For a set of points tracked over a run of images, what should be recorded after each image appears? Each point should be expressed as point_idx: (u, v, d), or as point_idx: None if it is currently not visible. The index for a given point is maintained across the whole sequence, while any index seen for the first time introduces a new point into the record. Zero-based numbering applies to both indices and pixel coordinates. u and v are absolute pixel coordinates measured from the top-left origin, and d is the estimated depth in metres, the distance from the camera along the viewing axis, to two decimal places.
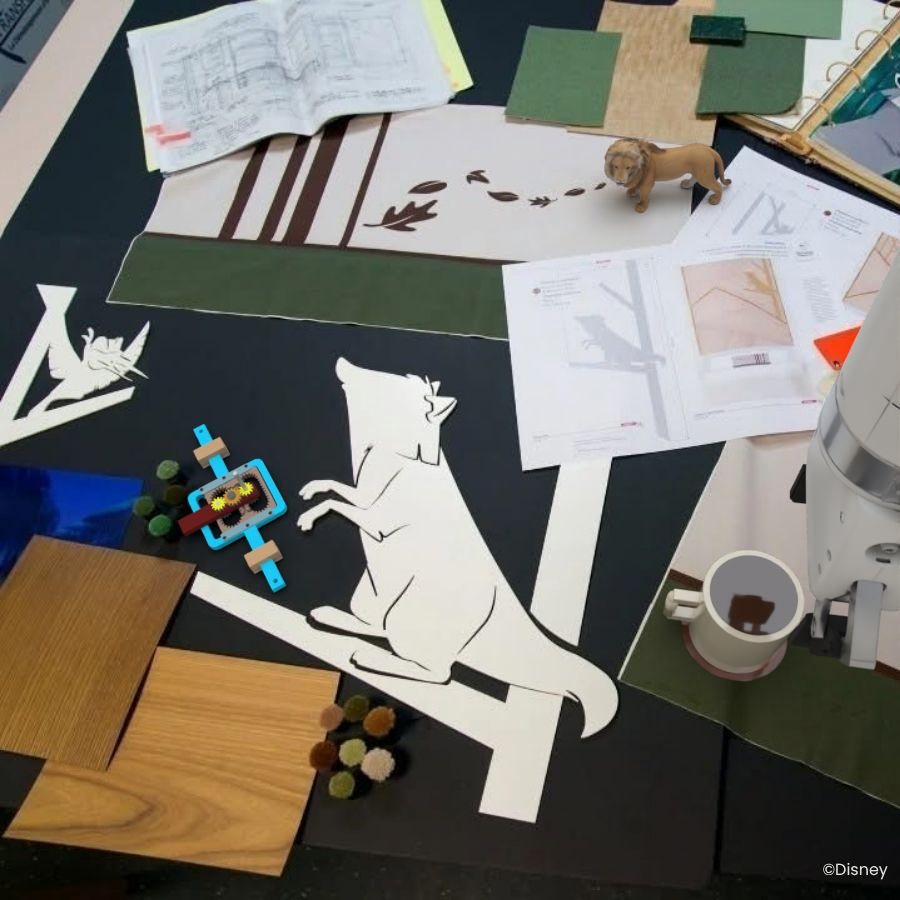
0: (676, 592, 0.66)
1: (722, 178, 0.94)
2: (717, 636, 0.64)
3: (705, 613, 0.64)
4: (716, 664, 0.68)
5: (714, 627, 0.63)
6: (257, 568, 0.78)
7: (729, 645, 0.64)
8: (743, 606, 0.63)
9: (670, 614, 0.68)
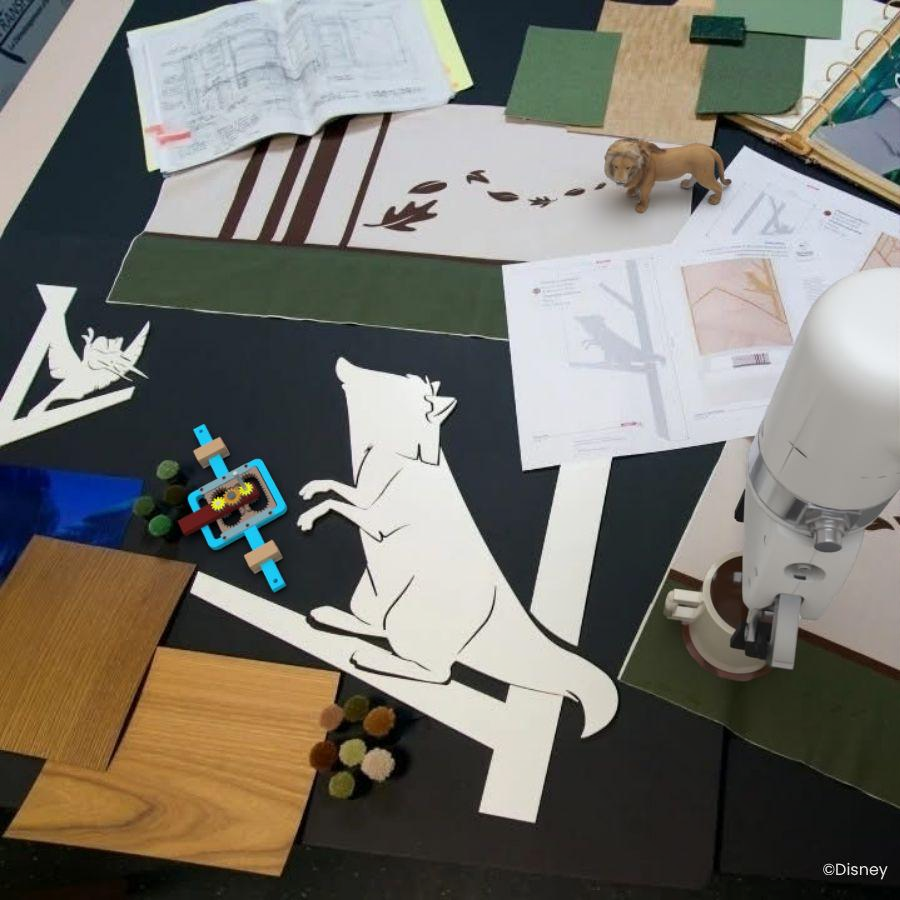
0: (676, 592, 0.66)
1: (722, 178, 0.94)
2: (717, 636, 0.64)
3: (705, 613, 0.64)
4: (716, 664, 0.68)
5: (714, 627, 0.63)
6: (257, 568, 0.78)
7: (729, 645, 0.64)
8: (743, 606, 0.63)
9: (670, 614, 0.68)
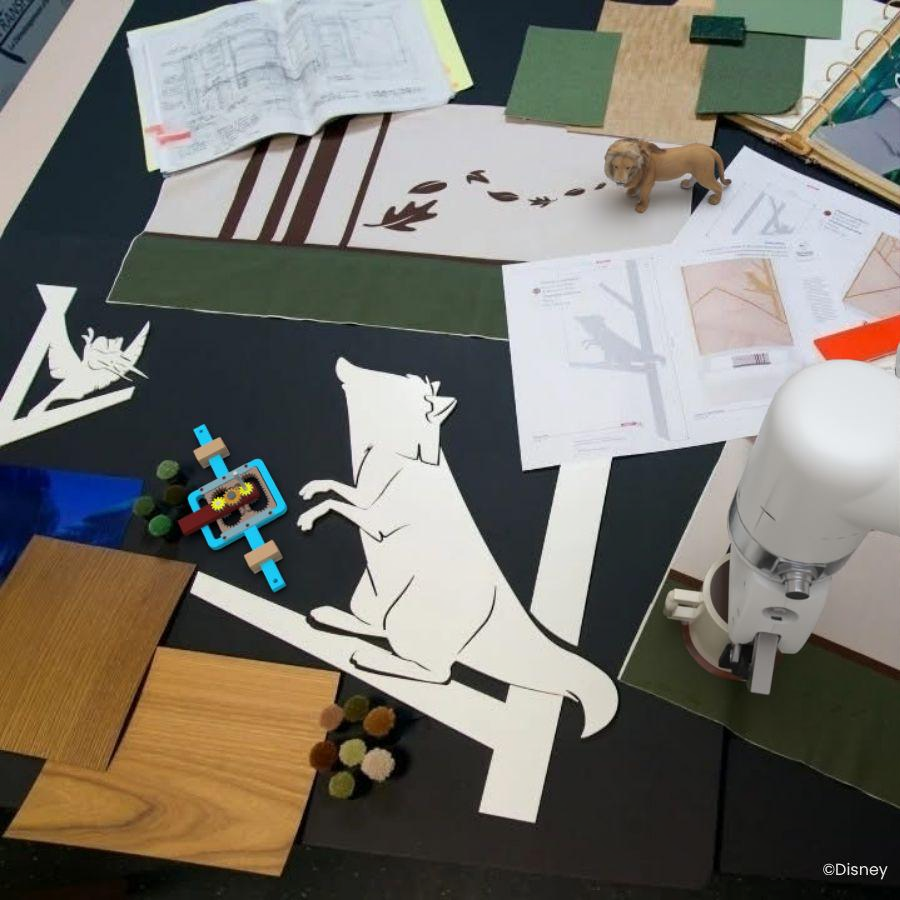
0: (676, 592, 0.66)
1: (722, 178, 0.94)
2: (717, 636, 0.64)
3: (705, 613, 0.64)
4: (716, 664, 0.68)
5: (714, 627, 0.63)
6: (257, 568, 0.78)
7: None
8: None
9: (670, 614, 0.68)
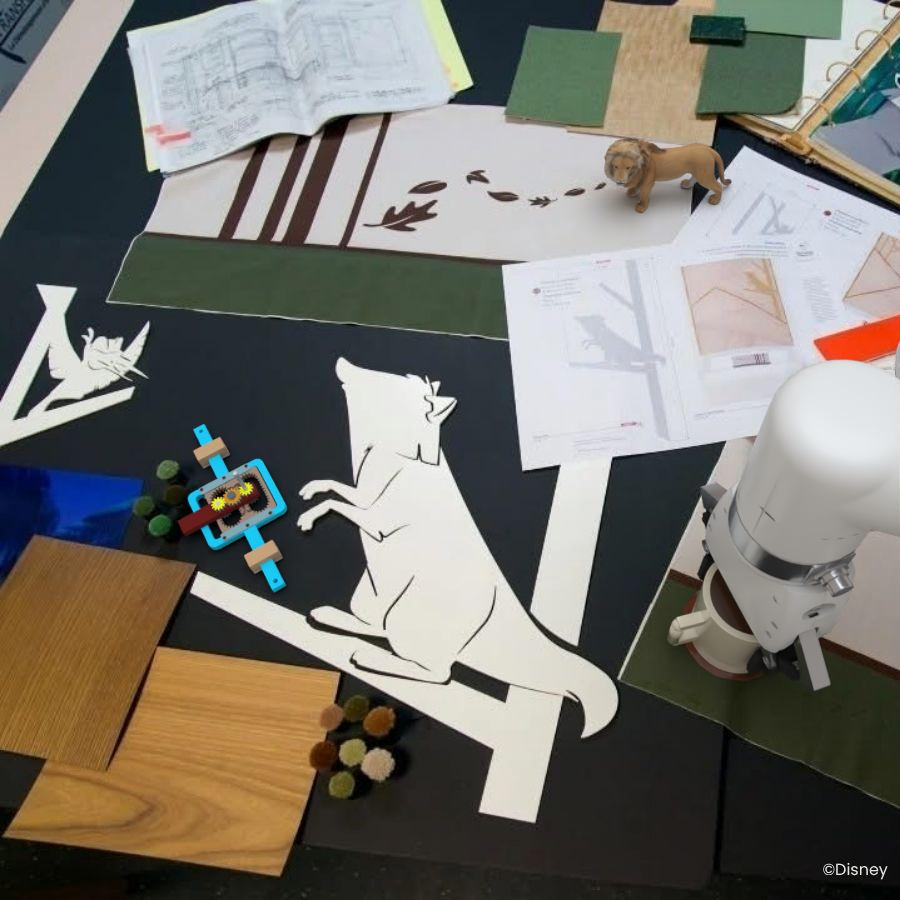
0: (680, 620, 0.65)
1: (722, 178, 0.94)
2: (736, 647, 0.63)
3: (717, 630, 0.63)
4: (735, 670, 0.68)
5: (732, 640, 0.63)
6: (257, 568, 0.78)
7: (750, 651, 0.63)
8: None
9: (677, 641, 0.67)
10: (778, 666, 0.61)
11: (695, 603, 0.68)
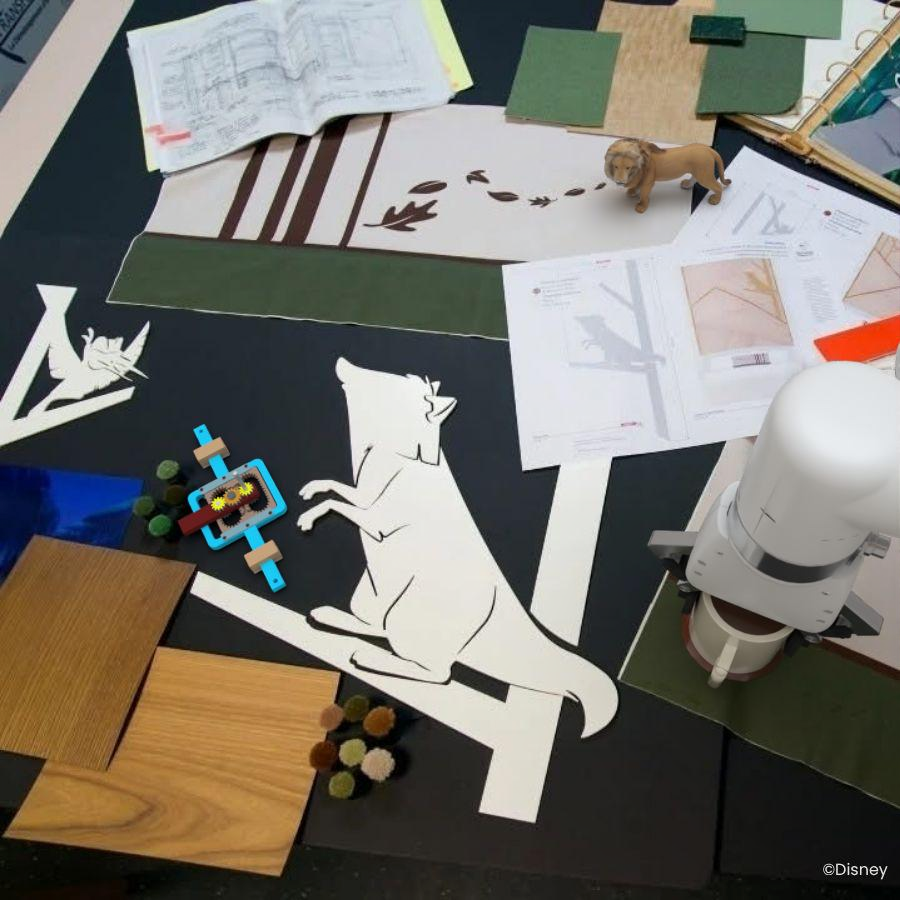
0: (721, 664, 0.63)
1: (722, 178, 0.94)
2: (777, 645, 0.63)
3: (757, 646, 0.62)
4: (770, 660, 0.68)
5: (774, 644, 0.62)
6: (257, 568, 0.78)
7: (787, 638, 0.63)
8: None
9: None
10: (823, 635, 0.61)
11: (706, 639, 0.66)
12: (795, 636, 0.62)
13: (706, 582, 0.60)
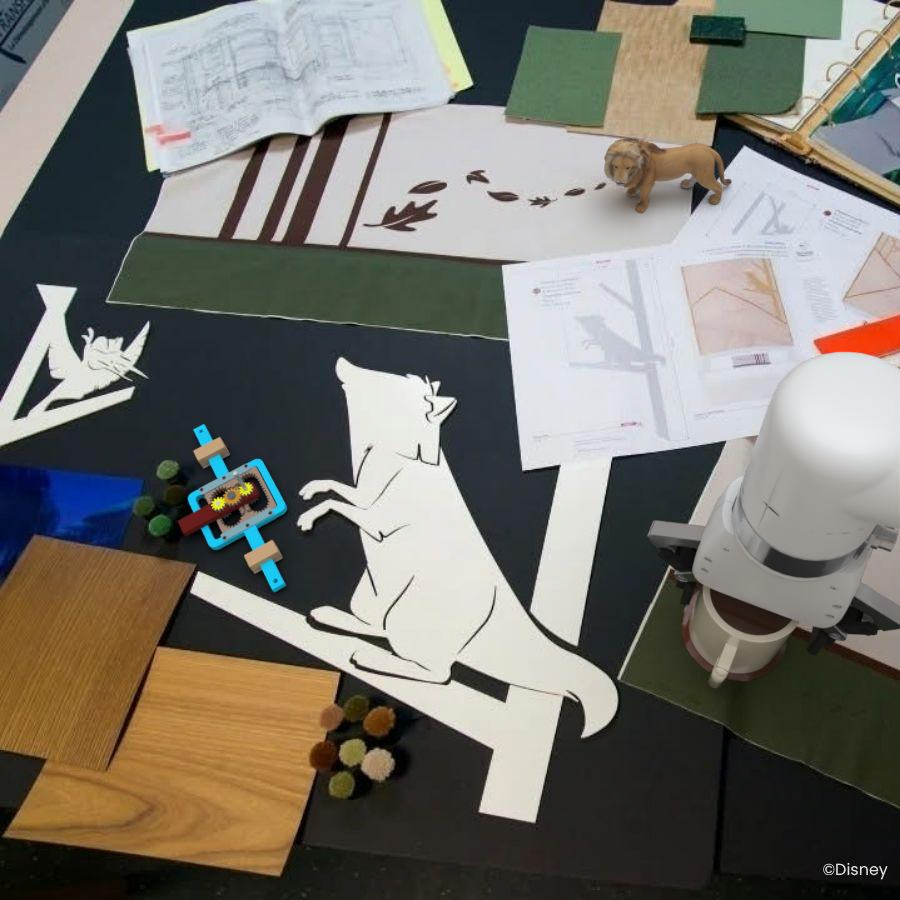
0: (722, 665, 0.63)
1: (722, 178, 0.94)
2: (777, 645, 0.63)
3: (757, 646, 0.62)
4: (770, 660, 0.68)
5: (774, 643, 0.62)
6: (257, 568, 0.78)
7: (787, 638, 0.63)
8: None
9: None
10: (848, 632, 0.60)
11: (706, 639, 0.66)
12: (819, 634, 0.61)
13: (713, 579, 0.59)
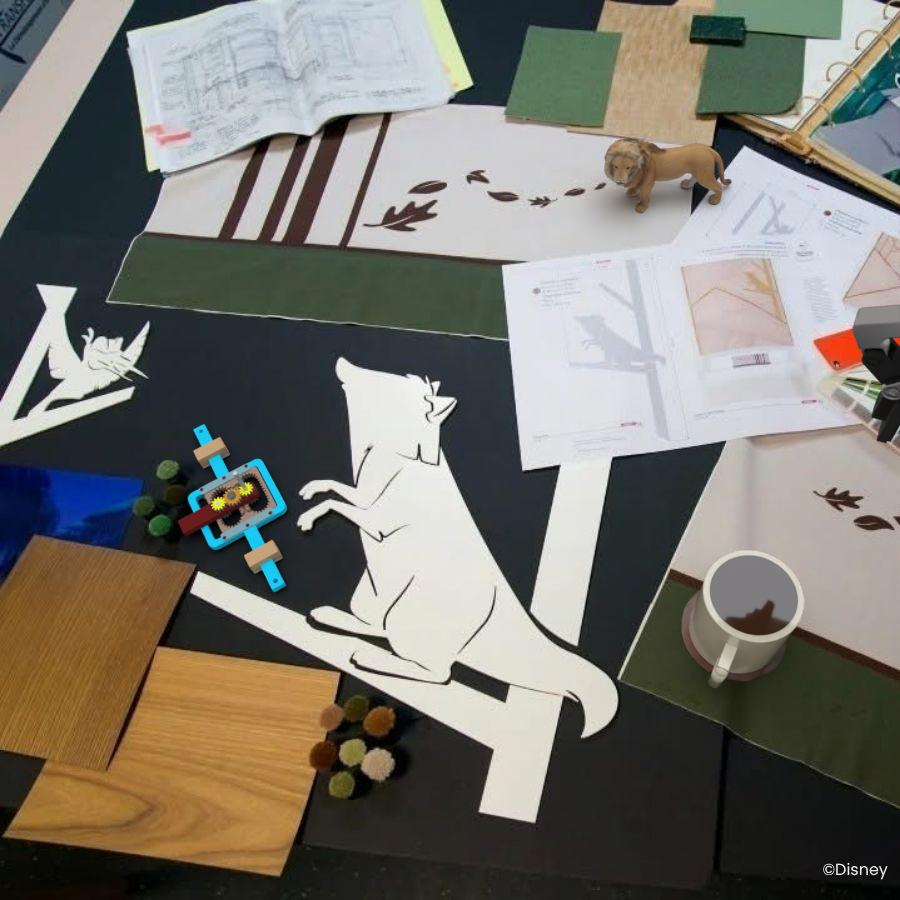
0: (722, 665, 0.63)
1: (722, 178, 0.94)
2: (777, 645, 0.63)
3: (757, 646, 0.62)
4: (770, 660, 0.68)
5: (774, 643, 0.62)
6: (257, 568, 0.78)
7: (787, 638, 0.63)
8: (763, 608, 0.63)
9: None
10: None
11: (706, 639, 0.66)
12: None
13: None
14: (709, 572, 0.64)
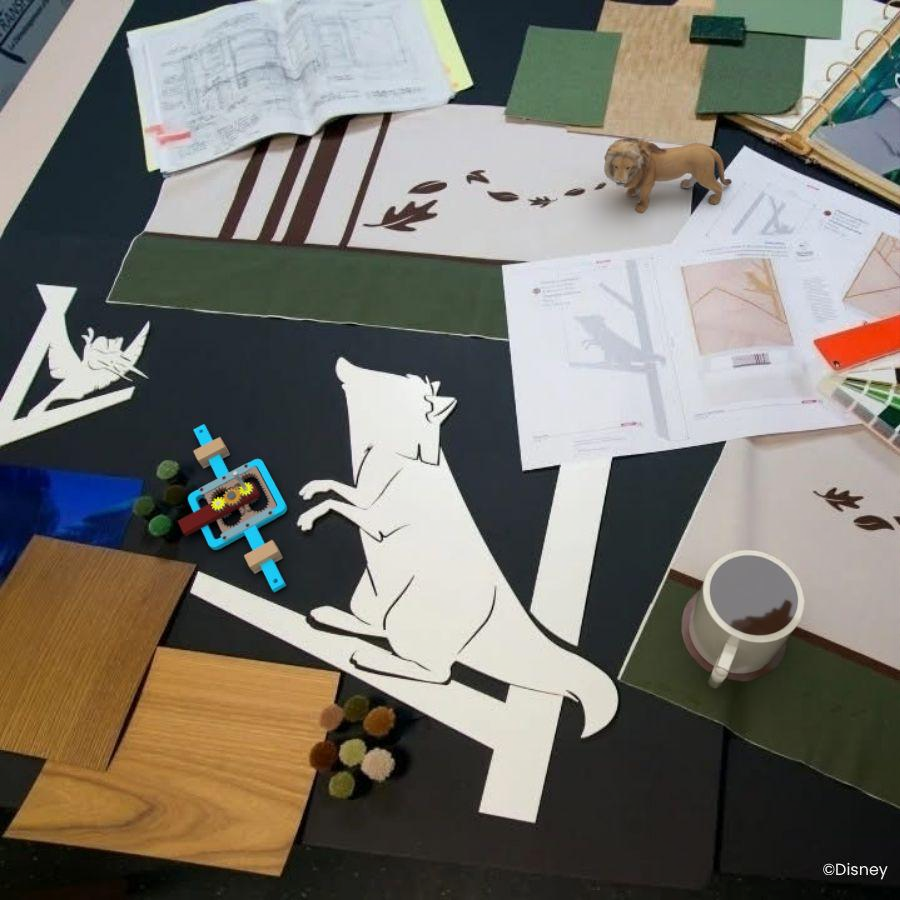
0: (722, 665, 0.63)
1: (722, 178, 0.94)
2: (777, 645, 0.63)
3: (757, 646, 0.62)
4: (770, 660, 0.68)
5: (774, 643, 0.62)
6: (257, 568, 0.78)
7: (787, 638, 0.63)
8: (763, 608, 0.63)
9: None
10: None
11: (706, 639, 0.66)
12: None
13: None
14: (709, 572, 0.64)
